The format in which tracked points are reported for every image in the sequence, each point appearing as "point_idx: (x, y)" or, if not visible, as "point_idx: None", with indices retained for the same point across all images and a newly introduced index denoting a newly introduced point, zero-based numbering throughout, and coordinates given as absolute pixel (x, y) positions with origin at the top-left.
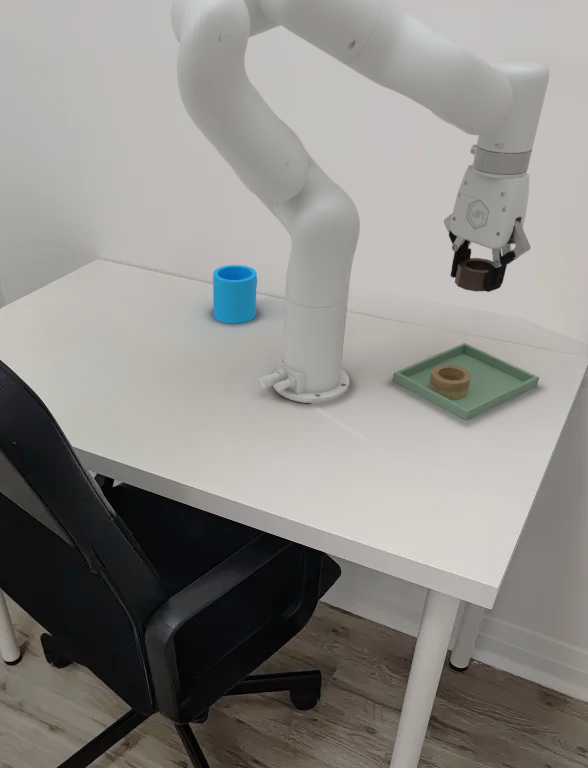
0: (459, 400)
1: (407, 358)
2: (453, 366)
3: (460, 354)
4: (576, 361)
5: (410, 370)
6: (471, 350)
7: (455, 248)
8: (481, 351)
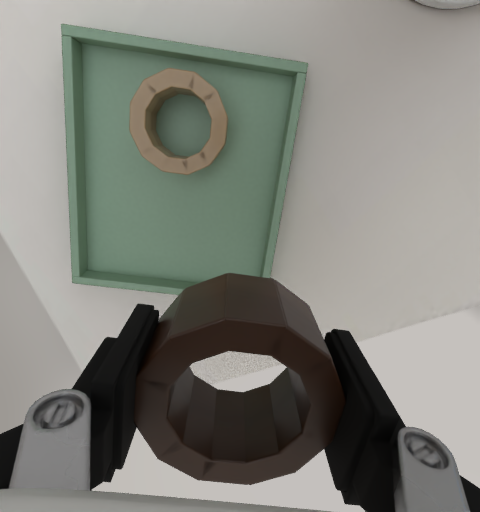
0: None
1: (337, 199)
2: (197, 161)
3: None
4: None
5: (288, 118)
6: None
7: (417, 445)
8: None
